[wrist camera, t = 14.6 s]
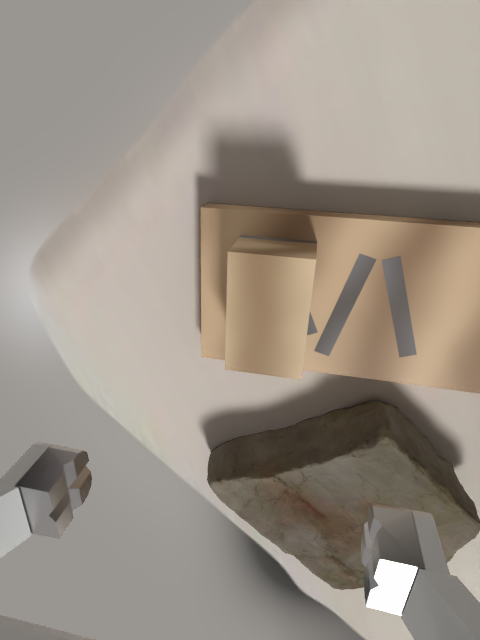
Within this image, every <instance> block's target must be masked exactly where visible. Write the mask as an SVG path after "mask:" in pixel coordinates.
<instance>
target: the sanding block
mask: <svg viewBox="0 0 480 640" xmlns="http://www.w3.org/2000/svg"><path fill="white" fill-rule="evenodd" d="M316 256H317V242H316V241H304V240H292V239H280V238H268V237H256V236H244V235H240V236H239V238H238V239H237V240H236V242H235V243H234V244H233V245H232V247H231V248H230V249H229V251H228V259H227V301H226V342H225V369H226V370H233V371H241V372H248V373H256V374H263V375H270V376H278V377H285V378H293V379H300V380H301V378H302V370H303V362H304V354H305V346H306V338H307V330H308V322H309V314H310V306H311V298H312V290H313V282H314V274H315V266H316Z"/></svg>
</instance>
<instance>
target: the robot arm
mask: <svg viewBox="0 0 480 640" xmlns="http://www.w3.org/2000/svg"><path fill="white" fill-rule="evenodd" d="M88 461H89V459H88V454H87V452H85V451H82V450H77V449H73V448H68V447H63V446H59V445H53V444H48V443H43V442H37V443H35V444H33V445H32V446H31V447H30V448H29V449H28V450H27V451H26V452H25V453H24V454H23V456H22V457H21V458H20V459H19V460H18V461H17V462H16V463H15V464H14V465H13V466H12V467H11V468H10V469H9V470H8V471H7V472H6V474H5V475H4V476H3V477H2V478H1V479H0V558H1V557H2V556H4V555H5V554H6V553H8V552H9V551H10V550H12V549H13V548H15V547H16V546H17V545H19V544H20V543H22V542H23V541H24V540H26V539H27V538H29V537H30V536H31V535H32V534H37V535H42V536H48V537H53V538H59V539H60V537H61V536H62V534H63V533H64V531H65V530H66V528H67V527H68V525H69V524H70V522H71V521H72V519H73V510H74V509H76V508H77V507H79V506H81V505H82V504H83V502H84V501H85V499H86V497H87V495H88V493H89V490H90V487H91V480H92V477H91V471H90V470H89V469H88V468H87V467H86V466H85V465H86V464H87V462H88ZM367 518H368V522H366V523H364V526H363V530H362V537H361V558H362V563H363V565H364V566H365V567H366V571H365V575H364V579H363V582H364V592H365V603H366V607H369V608H373V609H377V610H381V611H385V612H389V613H393V614H397V615H401V616H402V617H401V618H402V620H403V621H404V623H405V625H406V626H407V628H408V630H409V631H410V633H411V635H412V636H413V638H414V640H480V603H479V601H478V600H477V599H476V598H475V597H474V596H473V595H472V593H471V592H470V591H469V590H468V589H467V588H466V587H465V585H464V584H463V583H462V582H461V581H460V580H459V579H458V577H457V576H452V575H450V573H449V569H448V566H447V562H446V559H445V556H444V552H443V549H442V545H441V542H440V538H439V535H438V531H437V528H436V525H435V521H434V518H433V516H432V515H431V513H427V512H421V511H416V510H409V509H406V508H400V507H394V506H388V505H382V504H376V503H370V504H369V506H368V510H367ZM31 533H32V534H31ZM0 640H95V639H92V638H88V637H84V636H80V635H76V634H72V633H68V632H64V631H61V630H57V629H53V628H49V627H45V626H41V625H38V624H34V623H30V622H26V621H22V620H18V619H14V618H10V617H7V616H3V615H0Z"/></svg>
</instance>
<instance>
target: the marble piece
mask: <svg viewBox="0 0 480 640" xmlns="http://www.w3.org/2000/svg"><path fill="white" fill-rule="evenodd" d="M207 480H208V483H209V485H210V487H211V489H212V490H213V491H214V493H215V494H216V495H217V496H218V498H219V499H220V500H221V501H222V502H223V503H225V504H226V505H227V506H228V507H229V508H230V509H232V510H233V511H234V512H235V513H236V514H237V515H239V516H240V517H241V518H242V519H244V520H245V521H247V522H248V523H249V524H250V525H251V526H253V527H254V528H255V529H256V530H257V531H258V532H259V533H260V534H261V535H263V536H264V537H266V538H267V539H269V540H270V541H271V542H272V543H274V544H275V545H277V546H278V547H279V548H280V549H281V550H282V551H283V552H285V553H288V554H291V555H294V556H295V557H296V558H297V559H298V560H299V561H300V562H301V563H302V564H303V565H304V566H306V567H307V568H308V569H309V570H310V571H311V572H312V573H313V574H315V575H316V576H318V577H319V578H320V579H322V580H323V581H325V582H326V583H328V584H329V585H330V586H331V587H333V588H335V589H341V590H344V589H357V588H362V587H364V582H363V579H364V575H365V571H366V567H365V566H364V565H363V563H362V558H361V537H362V530H363V526H364V523H366V522H368V518H367V510H368V506H369V504H370V503H376V504H382V505H388V506H394V507H400V508H406V509H409V510H416V511H421V512H427V513H431V515H432V516H433V518H434V521H435V525H436V528H437V531H438V535H439V538H440V542H441V545H442V549H443V552H444V556H445V559H446V562H448V561H450V560H451V559H452V557H453V555H454V554H455V553H456V551H457V550H458V549H460V548H462V547H463V546H464V545H465V544H467V543H468V542H469V541H471V540H472V539H474V538H475V537H476V535H477V534H478V533H479V531H480V519H479V517H478V515H477V510H476V507H475V504H474V502H473V501H472V500H471V499H470V497H469V496H468V495H467V493H466V492H465V490H464V488H463V486H462V485H461V484H460V482H459V480H458V478H457V476H456V474H455V472H454V470H453V467H452V465H451V463H449V462H448V461H446V460H444V459H442V458H441V457H439V456H438V455H437V454H436V453H435V451H434V450H433V447H432V445H431V443H430V442H429V440H428V438H427V437H426V436H425V435H423V434H422V433H421V432H420V431H419V430H418V429H417V428H416V426H415V425H414V424H413V423H412V422H411V421H410V420H409V419H408V418H407V417H406V416H405V415H404V414H403V413H401V412H400V410H399V409H398V408H396V407H393V406H391V405H390V404H383V403H381V402H368V403H365V404H362V405H358V406H355V407H351V408H346V409H338V410H335V411H331V412H329V413H327V414H325V415H323V416H320V417H318V418H310V419H306V420H304V421H302V422H300V423H298V424H296V425H294V426H289V427H287V428H283V429H278V430H268V431H264V432H261V433H257V434H253V435H247V436H242V437H238V438H236V439H234V440H231V441H229V442H226V443H225V444H223V445H220V446H219V447H217V448H216V449H214V450H213V451H212V452H211V454H210V457H209V462H208V478H207Z"/></svg>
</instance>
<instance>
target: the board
mask: <svg viewBox="0 0 480 640" xmlns="http://www.w3.org/2000/svg"><path fill="white" fill-rule="evenodd" d="M200 212H201V357H206V358H213V359H221V360H225V342H226V301H227V259H228V251H229V249H230V248H231V247H232V245H233V244H234V243H235V242H236V240H237V239H238V238H239V236H240V235H244V236H256V237H268V238H280V239H292V240H304V241H316V242H317V256H316V266H315V274H314V282H313V290H312V298H311V306H310V314H309V322H308V330H307V338H306V346H305V354H304V362H303V370H305V371H313V372H321V373H328V374H336V375H344V376H351V377H359V378H367V379H374V380H382V381H390V382H397V383H405V384H413V385H420V386H428V387H435V388H443V389H451V390H458V391H466V392H474V393H480V223H479V222H466V221H452V220H438V219H424V218H410V217H396V216H382V215H368V214H354V213H340V212H326V211H312V210H298V209H284V208H270V207H256V206H242V205H228V204H214V203H206V204H205V205H203V206H202V207H200Z"/></svg>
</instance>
